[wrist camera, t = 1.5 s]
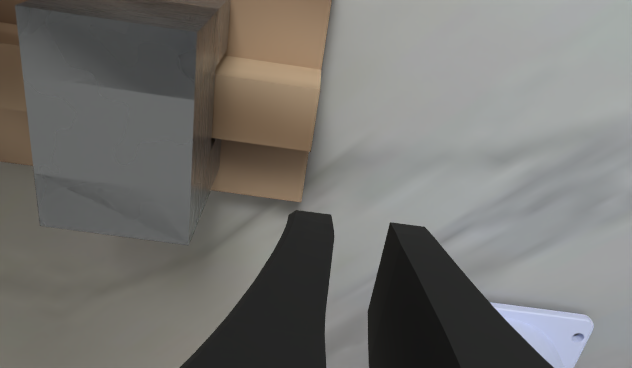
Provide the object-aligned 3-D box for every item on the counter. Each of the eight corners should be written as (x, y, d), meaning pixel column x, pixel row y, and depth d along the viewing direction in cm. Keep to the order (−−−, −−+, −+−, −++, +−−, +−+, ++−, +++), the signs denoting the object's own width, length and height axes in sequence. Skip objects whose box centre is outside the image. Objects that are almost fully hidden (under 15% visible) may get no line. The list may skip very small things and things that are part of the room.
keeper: (219, 167, 19) (188, 245, 15) (103, 152, 19) (39, 225, 15) (230, -4, 16) (197, 32, 12) (95, -25, 16) (14, 4, 12)
